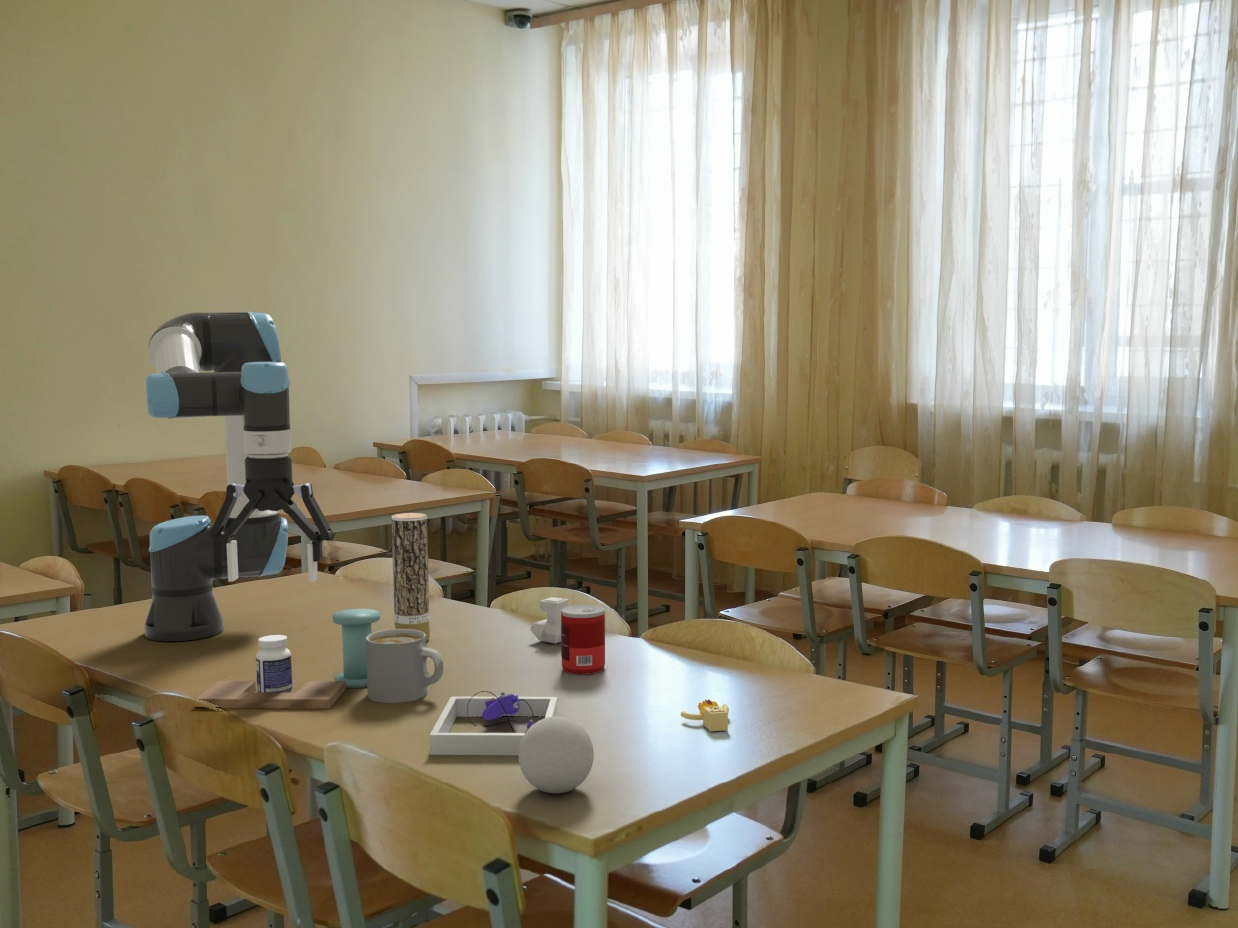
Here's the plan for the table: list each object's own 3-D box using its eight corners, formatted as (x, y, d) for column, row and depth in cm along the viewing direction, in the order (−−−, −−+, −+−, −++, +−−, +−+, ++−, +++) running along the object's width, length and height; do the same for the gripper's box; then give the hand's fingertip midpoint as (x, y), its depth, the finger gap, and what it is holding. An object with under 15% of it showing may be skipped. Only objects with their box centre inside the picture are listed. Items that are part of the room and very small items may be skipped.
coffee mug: (355, 697, 201) (353, 639, 199) (394, 681, 209) (392, 626, 208) (417, 709, 194) (415, 649, 193) (455, 693, 202) (454, 635, 201)
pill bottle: (299, 692, 203) (297, 635, 202) (277, 702, 198) (274, 643, 197) (273, 688, 206) (270, 632, 205) (250, 698, 201) (247, 640, 199)
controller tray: (430, 754, 173) (429, 734, 173) (451, 714, 191) (451, 696, 191) (547, 755, 173) (546, 735, 172) (557, 715, 191) (557, 696, 190)
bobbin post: (329, 687, 206) (327, 619, 204) (341, 674, 214) (339, 608, 212) (375, 687, 206) (373, 619, 204) (386, 674, 214) (384, 608, 212)
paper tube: (433, 636, 239) (430, 513, 237) (425, 645, 233) (421, 518, 230) (400, 635, 240) (397, 512, 237) (390, 644, 233) (387, 518, 230)
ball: (556, 811, 153) (555, 736, 152) (503, 792, 159) (502, 719, 158) (609, 789, 160) (608, 716, 159) (556, 771, 167) (555, 701, 166)
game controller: (463, 696, 189) (524, 679, 191) (475, 747, 188) (536, 730, 189) (463, 696, 179) (527, 678, 181) (476, 750, 178) (541, 732, 180)
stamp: (555, 633, 241) (554, 592, 240) (581, 638, 237) (580, 597, 236) (526, 643, 234) (525, 601, 233) (552, 648, 230) (552, 605, 229)
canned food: (614, 667, 217) (613, 608, 215) (582, 677, 211) (582, 616, 210) (583, 660, 222) (583, 602, 221) (552, 669, 216) (551, 609, 215)
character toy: (725, 694, 190) (743, 709, 183) (725, 713, 191) (742, 729, 183) (677, 698, 188) (693, 713, 181) (677, 718, 189) (693, 734, 181)
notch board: (196, 707, 196) (195, 698, 195) (218, 689, 206) (218, 680, 205) (329, 708, 195) (329, 699, 195) (345, 689, 205) (345, 681, 205)
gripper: (185, 457, 196) (191, 584, 198) (336, 458, 195) (340, 585, 198) (202, 452, 203) (208, 574, 206) (348, 452, 202) (352, 575, 205)
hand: (273, 580), depth 202 cm, fingers open, 13 cm apart
